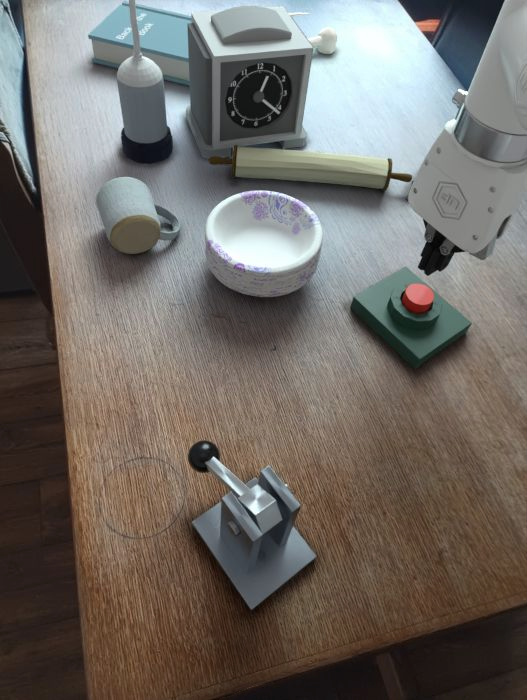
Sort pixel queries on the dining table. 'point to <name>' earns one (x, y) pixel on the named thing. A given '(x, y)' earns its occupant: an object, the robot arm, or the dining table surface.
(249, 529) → the tap bracket
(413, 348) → the button block
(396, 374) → the dining table surface
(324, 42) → the faucet
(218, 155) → the alarm clock
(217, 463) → the tap lever
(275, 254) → the paper bowls
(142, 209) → the ceramic mug
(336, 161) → the rolling pin
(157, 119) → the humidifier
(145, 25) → the book
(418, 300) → the button
